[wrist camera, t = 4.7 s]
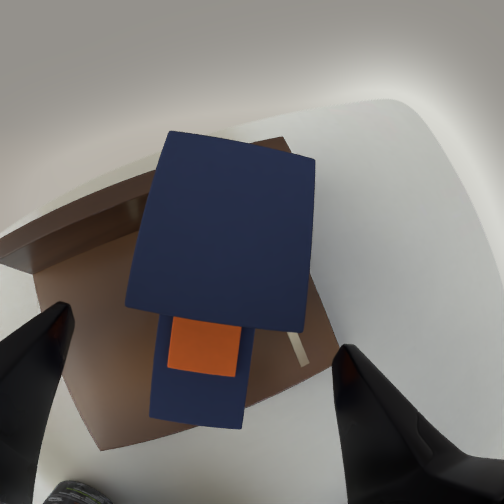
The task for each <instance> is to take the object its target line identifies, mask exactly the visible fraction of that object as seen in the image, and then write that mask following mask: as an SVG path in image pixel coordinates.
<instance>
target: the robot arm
mask: <svg viewBox="0 0 504 504" xmlns="http://www.w3.org/2000/svg"><path fill="white" fill-rule="evenodd" d="M74 329H75V319H74V315H73V312H72V308H71V305H70V304H69V303H66V302H62V301H58V302H56V303H55V304H53V305H52V306H50V307H49V308H47V309H46V310H44V311H43V312H41V313H40V314H39V315H37V316H36V317H34V318H33V319H31V320H30V321H28V322H27V323H26V324H24V325H23V326H21V327H20V328H18V329H17V330H16V331H14V332H13V333H11V334H10V335H9V336H7V337H6V338H5V339H3V340H2V341H1V342H0V504H32V501H33V492H34V484H35V477H36V471H37V465H38V459H39V454H40V449H41V445H42V440H43V436H44V432H45V428H46V424H47V420H48V417H49V413H50V410H51V406H52V403H53V399H54V396H55V393H56V390H57V387H58V384H59V381H60V378H61V375H62V372H63V369H64V366H65V362H66V359H67V355H68V351H69V347H70V343H71V339H72V336H73V332H74ZM332 375H333V391H334V404H335V410H336V416H337V423H338V429H339V436H340V442H341V449H342V457H343V464H344V472H345V480H346V489H347V498H348V504H504V460H500V459H490V458H481V457H474V456H470V455H467V454H465V453H464V452H462V451H461V450H459V449H458V448H457V447H456V446H455V445H454V444H453V443H451V442H450V441H449V440H448V439H447V438H446V437H444V436H443V435H442V434H441V433H440V432H439V431H438V430H437V429H436V428H434V427H433V426H432V425H431V424H430V423H429V422H428V421H427V420H426V419H425V418H424V416H423V415H422V414H421V413H420V412H418V410H417V409H416V408H415V407H414V406H413V405H412V404H411V403H410V402H409V401H408V400H407V399H406V398H405V397H404V396H403V395H402V393H401V392H400V391H399V390H398V389H397V388H396V387H395V386H394V385H393V384H392V383H391V382H390V381H389V380H388V379H387V378H386V377H385V376H384V375H383V374H382V373H381V372H380V371H379V370H378V368H377V367H376V366H375V365H374V364H373V363H372V362H371V361H370V360H369V359H368V358H367V357H366V356H365V355H364V354H363V353H362V352H361V351H360V350H359V349H358V348H357V347H356V346H355V345H353V344H343V345H342V346H341V347H340V349H339V350H338V352H337V353H336V355H335V356H334V358H333V360H332Z"/></svg>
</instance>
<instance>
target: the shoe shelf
mask: <svg viewBox="0 0 504 504" xmlns="http://www.w3.org/2000/svg"><path fill="white" fill-rule="evenodd" d="M249 144H254V145H259V146H263V147H268V148H272V149H277V150H281V151H285V152H289V153H291V150H290V149H289V147H288V145H287V143H286V141H285V139H284V138H283V137H277V138H272V139H267V140H262V141H258V142H253V143H249ZM155 171H156V170H153V171H150V172H147V173H144V174H142V175H139V176H136V177H133V178H130V179H128V180H125V181H122V182H120V183H117V184H114V185H112V186H109V187H107V188H104V189H102V190H99V191H97V192H94V193H92V194H90V195H87V196H85V197H83V198H80V199H78V200H76V201H73V202H71V203H69V204H67V205H65V206H62V207H60V208H58V209H56V210H54V211H52V212H50V213H48V214H46V215H44V216H42V217H40V218H38V219H36V220H34V221H32V222H30V223H28V224H26V225H24V226H22V227H20V228H18V229H17V230H15V231H13V232H11V233H9V234H8V235H6V236H4V237H2V238H1V239H0V264H3V265H6V266H9V267H11V268H14V269H17V270H20V271H23V272H26V273H29V274H33V278H34V283H35V288H36V293H37V297H38V301H39V305H40V309H41V312H43V311H44V310H46V309H47V308H49V307H50V306H52V305H53V304H55V303H56V302H58V301H62V302H66V303H69V304H70V305H71V308H72V312H73V315H74V319H75V329H74V332H73V336H72V339H71V343H70V347H69V351H68V355H67V359H66V362H65V366H64V369H63V372H62V376H63V378H64V381H65V383H66V386H67V388H68V390H69V392H70V395H71V397H72V399H73V401H74V403H75V405H76V407H77V410H78V412H79V414H80V416H81V418H82V419H83V421H84V423H85V425H86V427H87V429H88V431H89V433H90V434H91V436H92V438H93V440H94V441H95V443H96V445H97V446H98V448H99V450H100V451H104V450H109V449H115V448H119V447H124V446H129V445H133V444H137V443H142V442H146V441H150V440H153V439H157V438H161V437H164V436H168V435H171V434H175V433H178V432H181V431H184V430H187V429H191V428H194V427H197V426H198V425H191V424H184V423H177V422H171V421H165V420H160V419H155V418H150V417H149V406H150V392H151V380H152V370H153V360H154V351H155V343H156V335H157V327H158V320H159V314H158V313H153V312H148V311H143V310H138V309H133V308H128V307H126V306H125V297H126V291H127V286H128V280H129V275H130V270H131V265H132V260H133V255H134V250H135V246H136V241H137V237H138V233H139V229H140V225H141V221H142V217H143V213H144V209H145V205H146V202H147V198H148V194H149V191H150V187H151V184H152V181H153V177H154V174H155ZM339 349H340V348H339V345H338V343H337V340H336V337H335V335H334V332H333V330H332V327H331V324H330V322H329V319H328V317H327V314H326V312H325V309H324V307H323V304H322V302H321V299H320V297H319V294H318V292H317V290H316V287H315V285H314V282H313V280H312V277H311V275H310V273H309V283H308V294H307V304H306V314H305V323H304V331H303V332H302V333H293V332H282V331H272V330H263V329H255V334H254V342H253V349H252V357H251V365H250V372H249V380H248V387H247V394H246V401H245V408H247V407H249V406H252V405H254V404H256V403H259V402H261V401H263V400H265V399H268V398H270V397H272V396H274V395H276V394H278V393H280V392H283V391H285V390H287V389H289V388H291V387H293V386H295V385H297V384H299V383H301V382H303V381H305V380H306V379H308V378H310V377H312V376H314V375H316V374H318V373H320V372H321V371H323V370H325V369H327V368H329V367H330V366H332V360H333V358H334V356H335V355H336V353H337V352H338V350H339Z"/></svg>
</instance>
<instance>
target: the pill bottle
mask: <svg viewBox="0 0 504 504" xmlns="http://www.w3.org/2000/svg"><path fill="white" fill-rule="evenodd" d="M43 504H113V503H112V502H111V501H110V500H109V499H108V498H107V497H105V496H104V495H103V494H101V493H100V492H98V491H97V490H95V489H93V488H92V487H90V486H87V485H85V484H82V483H80V482H75V481H63V482H60V483H59V484H58V485H57V486H56V488H55V489H54V490H53V491H52V493H51V494H50V495H49V496H48V498H47V499H46V500H45V501H44V503H43Z"/></svg>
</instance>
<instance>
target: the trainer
mask: <svg viewBox="0 0 504 504" xmlns="http://www.w3.org/2000/svg"><path fill="white" fill-rule="evenodd" d="M314 190H315V159H312V158H308V157H305V156H301V155H297V154H293V153H289V152H285V151H281V150H277V149H272V148H268V147H263V146H259V145H254V144H249V143H244V142H239V141H234V140H229V139H223V138H217V137H211V136H205V135H199V134H192V133H185V132H177V131H169V133H168V135H167V138H166V141H165V144H164V147H163V149H162V152H161V155H160V158H159V161H158V165H157V168H156V171H155V174H154V177H153V181H152V184H151V187H150V191H149V194H148V198H147V202H146V205H145V209H144V213H143V217H142V221H141V225H140V229H139V233H138V237H137V241H136V246H135V250H134V255H133V260H132V265H131V270H130V275H129V280H128V286H127V291H126V297H125V306H126V307H128V308H133V309H138V310H143V311H148V312H153V313H158V314H159V320H158V327H157V335H156V343H155V351H154V360H153V370H152V380H151V392H150V406H149V417H150V418H155V419H160V420H165V421H171V422H177V423H184V424H191V425H198V426H207V427H216V428H227V429H241V428H242V423H243V416H244V409H245V401H246V394H247V387H248V380H249V372H250V365H251V357H252V349H253V342H254V334H255V329H263V330H272V331H282V332H293V333H302V332H303V331H304V323H305V314H306V304H307V294H308V283H309V272H310V260H311V246H312V231H313V213H314Z"/></svg>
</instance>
